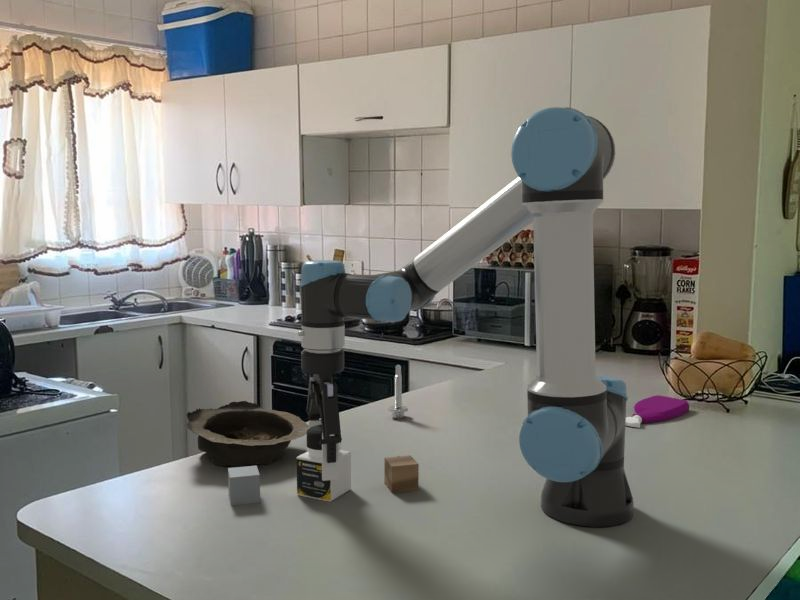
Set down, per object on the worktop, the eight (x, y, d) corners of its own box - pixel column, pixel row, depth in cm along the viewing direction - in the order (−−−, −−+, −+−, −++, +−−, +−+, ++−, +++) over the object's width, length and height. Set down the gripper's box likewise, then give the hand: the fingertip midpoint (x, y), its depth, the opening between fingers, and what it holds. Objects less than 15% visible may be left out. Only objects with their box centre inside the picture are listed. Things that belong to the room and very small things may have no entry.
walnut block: (418, 490, 141) (418, 463, 141) (391, 493, 140) (391, 466, 139) (410, 481, 146) (410, 455, 146) (384, 483, 145) (384, 457, 144)
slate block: (260, 502, 136) (259, 474, 135) (230, 505, 134) (229, 477, 134) (257, 492, 140) (256, 465, 140) (228, 495, 139) (227, 468, 138)
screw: (408, 419, 187) (388, 419, 187) (407, 414, 192) (388, 414, 192) (408, 366, 186) (388, 366, 186) (407, 362, 191) (387, 362, 191)
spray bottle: (693, 412, 196) (645, 434, 179) (652, 404, 203) (602, 424, 186) (693, 401, 195) (646, 421, 178) (652, 393, 203) (603, 412, 186)
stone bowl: (177, 443, 168) (179, 401, 167) (292, 440, 177) (294, 400, 176) (189, 480, 145) (192, 430, 144) (321, 474, 154) (323, 427, 153)
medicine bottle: (296, 495, 139) (295, 429, 137) (318, 483, 145) (317, 419, 143) (330, 502, 135) (329, 435, 134) (351, 489, 142) (351, 424, 140)
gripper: (290, 337, 148) (291, 446, 151) (313, 364, 124) (314, 493, 127) (330, 336, 150) (330, 443, 153) (359, 362, 126) (359, 489, 129)
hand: (322, 466), depth 140 cm, fingers open, 13 cm apart
